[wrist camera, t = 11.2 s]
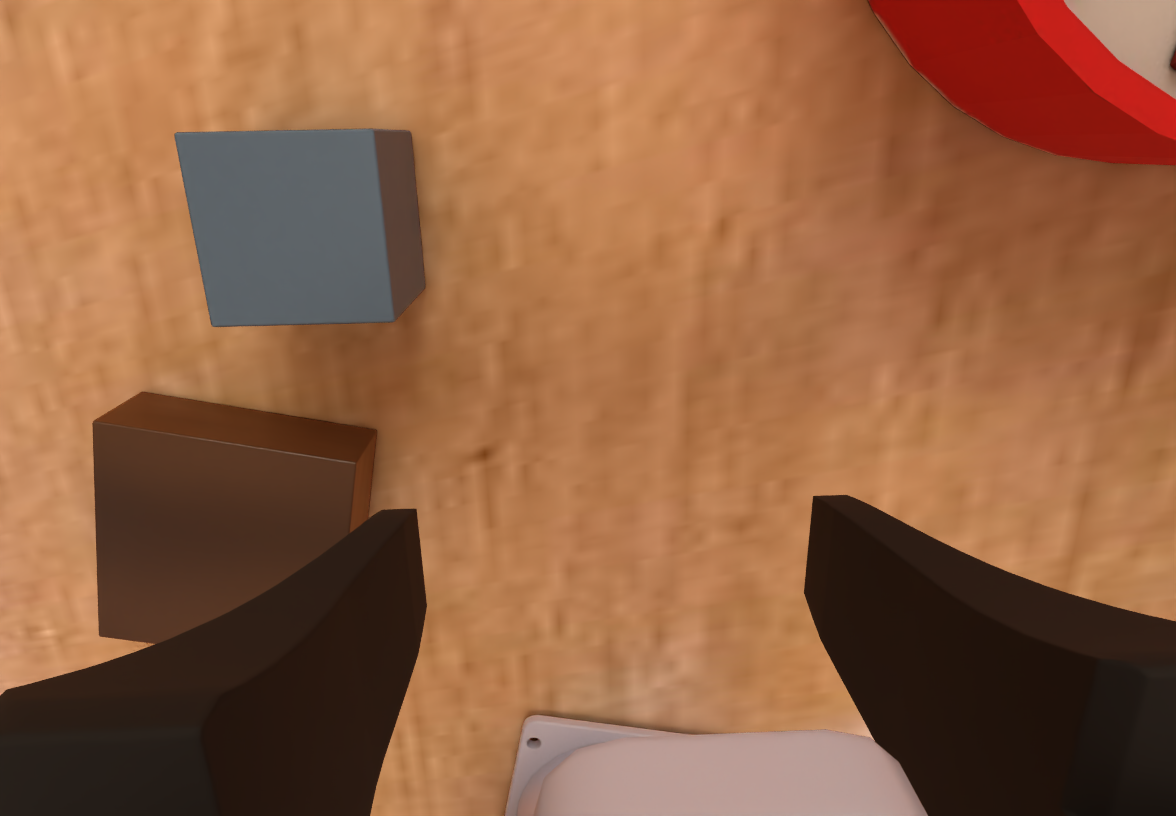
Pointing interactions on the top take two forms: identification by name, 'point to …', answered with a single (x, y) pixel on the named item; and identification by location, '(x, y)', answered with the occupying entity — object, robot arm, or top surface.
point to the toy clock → (1051, 70)
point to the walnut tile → (214, 507)
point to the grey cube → (304, 224)
